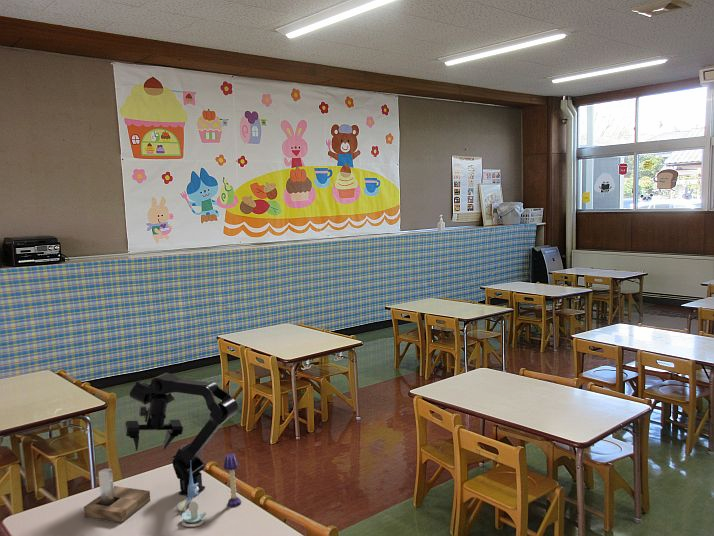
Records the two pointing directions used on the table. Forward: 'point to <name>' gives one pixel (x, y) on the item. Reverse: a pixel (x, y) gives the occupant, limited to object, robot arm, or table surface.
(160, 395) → the robot arm
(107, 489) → the aluminium peg
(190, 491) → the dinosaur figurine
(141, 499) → the pocket board
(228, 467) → the toy lamp
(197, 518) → the pacifier
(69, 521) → the table surface
